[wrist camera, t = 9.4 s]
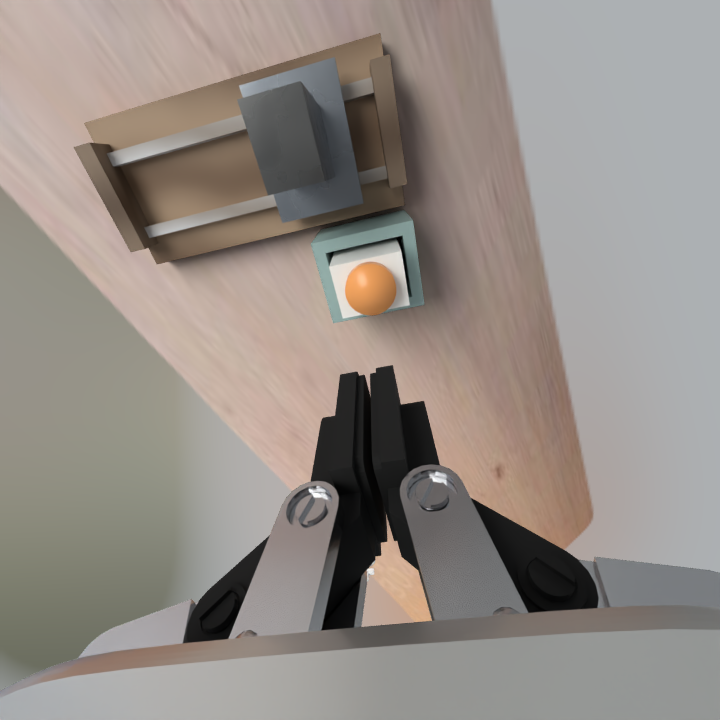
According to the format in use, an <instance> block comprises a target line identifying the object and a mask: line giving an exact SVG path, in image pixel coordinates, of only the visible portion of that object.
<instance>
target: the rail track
mask: <svg viewBox="0 0 720 720" xmlns="http://www.w3.org/2000/svg"><path fill="white" fill-rule="evenodd" d="M333 57H335V60H336V64H337V69H338V74H339V80H340V85H341V90H342V95H343V100H344V105H345V110H346V115H347V120H348V125H349V130H350V135H351V140H352V145H353V150H354V155H355V160H356V165H357V171H358V176H359V181H360V186H361V191H362V196H363V201H364V204H359V205H355V206H351V207H347V208H343V209H339V210H335V211H331V212H327V213H322V214H318V215H314V216H310V217H306V218H302V219H298V220H294V221H290V222H285V223H282V220H281V217H280V214H279V211H278V208H277V205H276V201H275V198H274V195H269V196H268V194H267V191H266V188H265V185H264V182H263V179H262V176H261V172H260V169H259V166H258V163H257V160H256V157H255V154H254V151H253V148H252V145H251V141H250V138H249V135H248V132H247V129H246V126H245V123H244V120H243V117H242V114H241V110H240V107H239V104H238V101H237V99H241V98H243V97H242V94H241V90H240V87H239V86H240V85H243V84H246V83H250V82H253V81H256V80H260V79H263V78H266V77H270V76H273V75H276V74H280V73H283V72H286V71H290V70H293V69H296V68H300V67H303V66H306V65H310V64H313V63H316V62H320V61H323V60H326V59H330V58H333ZM84 124H85V126H86V128H87V130H88V132H89V134H90V136H91V138H92V140H93V141H94V143H86V144H83V145H80V146H76V147H74V149H75V151H76V153H77V155H78V156H79V158H80V160H81V162H82V164H83V166H84V167H85V169H86V171H87V173H88V175H89V177H90V178H91V180H92V182H93V184H94V186H95V188H96V189H97V191H98V193H99V195H100V197H101V199H102V200H103V202H104V204H105V206H106V208H107V210H108V211H109V213H110V215H111V217H112V219H113V221H114V222H115V224H116V226H117V228H118V230H119V232H120V233H121V235H122V237H123V239H124V241H125V243H126V244H127V246H128V248H129V250H130V252H134V251H138V250H142V249H146V248H149V250H150V252H151V254H152V256H153V258H154V260H155V261H156V263H157V264H161V263H165V262H169V261H173V260H177V259H182V258H186V257H190V256H194V255H198V254H202V253H207V252H211V251H215V250H219V249H223V248H228V247H232V246H236V245H240V244H244V243H248V242H253V241H257V240H261V239H265V238H269V237H274V236H278V235H282V234H286V233H290V232H294V231H299V230H303V229H307V228H311V227H315V226H320V225H324V224H328V223H332V222H336V221H340V220H345V219H349V218H353V217H357V216H361V215H366V214H370V213H374V212H378V211H382V210H387V209H391V208H395V207H399V206H403V205H405V202H404V195H403V188H402V185H406V184H407V178H406V171H405V163H404V156H403V149H402V141H401V134H400V127H399V119H398V112H397V105H396V97H395V90H394V82H393V75H392V68H391V60H390V54H388V55H385V56H383V49H382V42H381V35H380V33H379V34H376V35H373V36H369V37H366V38H363V39H359V40H356V41H353V42H350V43H346V44H343V45H340V46H336V47H333V48H330V49H326V50H323V51H320V52H317V53H313V54H310V55H307V56H303V57H300V58H297V59H294V60H290V61H287V62H284V63H280V64H277V65H274V66H270V67H267V68H264V69H261V70H257V71H254V72H251V73H247V74H244V75H241V76H238V77H234V78H231V79H228V80H224V81H221V82H218V83H214V84H211V85H208V86H205V87H201V88H198V89H195V90H191V91H188V92H185V93H182V94H178V95H175V96H172V97H168V98H165V99H162V100H158V101H155V102H152V103H149V104H145V105H142V106H139V107H135V108H132V109H129V110H126V111H122V112H119V113H116V114H112V115H109V116H106V117H102V118H99V119H96V120H93V121H89V122H86V123H84Z"/></svg>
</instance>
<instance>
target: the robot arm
mask: <svg viewBox="0 0 720 720" xmlns="http://www.w3.org/2000/svg"><path fill="white" fill-rule="evenodd" d="M370 388H371V397H370V394H369V390H368V386H367V382H366V378H365V375H361V376H359V374H358V372H353V373H347V374H342V375H340V381H339V389H338V397H337V405H336V414H335V416H331V417H325V418H323V419H322V421H321V426H320V431H319V437H318V443H317V448H316V454H315V460H314V465H313V471H312V477H311V482H308V483H305V484H303V485H300V486H299V487H298V488H296V489H295V490H293V491H292V492H291V493H290V494H289V495H288V496H287V497H286V499H285V501H284V503H283V504H282V506H281V509H280V511H279V514H278V517H277V519H276V521H275V524H274V526H273V529H272V531H271V534H270V535H269V537H267V538H266V539H265V540H264V541H263V542H262V543H261V544H259V545H258V546H257V547H256V548H255V549H254V550H253V551H252V552H250V554H248V555H247V556H246V557H245V558H244V559H243V560H242V561H241V562H239V563H238V564H237V565H236V566H235V567H234V568H233V569H231V570H230V571H229V572H228V573H227V574H226V575H225V576H224V577H223V578H221V579H220V580H219V581H218V582H217V583H216V584H215V585H214V586H212V587H211V588H210V589H209V590H208V591H207V592H206V593H205V595H204V596H203V597H202V598H201V599H200V600H199V602H196V603H195V602H194V601H193V600H192V599H190V600H188V601H185V602H182V603H179V604H177V605H174V606H171V607H168V608H166V609H163V610H161V611H157V612H155V613H152V614H149V615H147V616H144V617H141V618H138V619H136V620H133V621H130V622H127V623H125V624H122V625H119V626H116V627H114V628H111V629H110V630H108V631H106V632H104V633H102V634H101V635H99V636H98V637H97V638H96V639H95V640H94V641H92V642H91V643H90V644H89V645H88V646H87V648H86V649H85V650H84V651H83V653H82V654H81V655H80V656H79V657H78V659H75V660H71V661H68V662H64V663H60V664H58V665H55V666H52V667H50V668H47V669H44V670H42V671H39V672H37V673H35V674H33V675H30V676H28V677H26V678H24V679H22V680H20V681H18V682H16V683H14V684H12V685H10V686H8V687H6V688H4V689H3V690H1V691H0V720H720V573H718V572H714V571H710V570H703V569H694V568H686V567H677V566H669V565H660V564H652V563H643V562H634V561H626V560H617V559H609V558H600V557H595V558H594V562H592V561H584V560H578V559H576V558H575V557H573V556H572V555H571V554H569V553H568V552H567V551H565V550H563V549H561V548H560V547H558V546H556V545H554V544H552V543H551V542H549V541H547V540H545V539H543V538H542V537H540V536H538V535H536V534H535V533H533V532H531V531H529V530H527V529H526V528H524V527H522V526H520V525H518V524H517V523H515V522H513V521H511V520H509V519H508V518H506V517H504V516H502V515H501V514H499V513H497V512H495V511H493V510H492V509H490V508H488V507H486V506H484V505H483V504H481V503H479V502H477V501H476V500H474V499H472V498H470V496H469V494H468V492H467V490H466V488H465V486H464V484H463V482H462V480H461V479H460V478H459V476H458V475H457V474H456V473H455V472H453V471H452V470H451V469H449V468H446V467H444V466H441V465H440V464H439V460H438V456H437V452H436V448H435V444H434V439H433V435H432V431H431V427H430V423H429V419H428V415H427V411H426V407H425V403H424V401H420V402H414V403H408V404H402V405H401V403H400V398H399V393H398V388H397V384H396V379H395V374H394V369H393V365H391V366H385V367H380V368H376V373H372V374H370ZM386 514H387V518H388V521H389V525H390V528H391V532H392V535H393V539H394V541H397V542H398V545H399V549H400V552H401V556H402V557H403V558H404V559H405V560H406V561H408V562H409V563H410V564H411V565H412V566H414V567H415V568H416V569H417V570H418V571H419V575H420V579H421V582H422V586H423V590H424V593H425V597H426V600H427V604H428V608H429V611H430V615H431V619H432V621H426V622H414V623H403V624H392V625H380V626H369V627H361V625H362V617H363V609H364V601H365V593H366V586H367V569H368V568H369V567H370V566H371V564H372V563H373V562H374V561H375V556H381V542H387V523H386Z"/></svg>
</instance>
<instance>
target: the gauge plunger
mask: <svg viewBox="0 0 720 720" xmlns="http://www.w3.org/2000/svg"><path fill="white" fill-rule="evenodd" d="M329 269H330V272H331V276H332V280H333V284H334V287H335V291H336V295H337V299H338V302H339V306H340V310H341V314H342V317H343V319H344V318H349V317H354V316H359V315H378V314H381V313H383V312H385V311H386V310H388V309H393V308H398V307H403V306H408V305H410V303H409V297H408V290H407V284H406V278H405V271H404V265H403V259H402V252H401V249H400V247H399V244H398V242H397V240H396V237H394V238H389V239H385V240H381V241H376V242H372V243H368V244H363V245H359V246H354V247H350V248H346V249H341V250H337V251H335V252H334V255H333V257H332V260H331V263H330V266H329Z"/></svg>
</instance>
